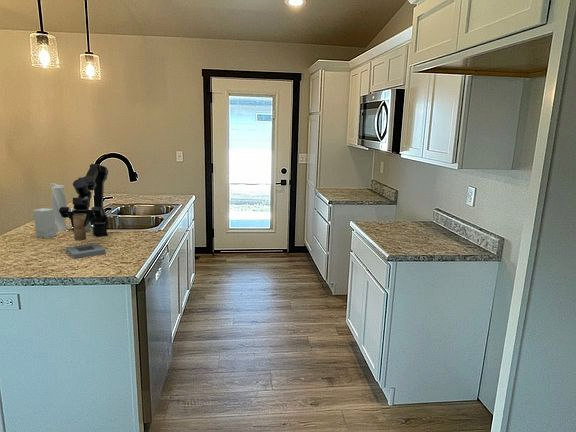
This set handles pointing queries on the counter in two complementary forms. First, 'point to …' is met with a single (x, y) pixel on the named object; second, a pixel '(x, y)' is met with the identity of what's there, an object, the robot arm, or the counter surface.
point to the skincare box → (45, 223)
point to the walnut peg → (79, 227)
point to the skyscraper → (58, 206)
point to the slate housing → (85, 250)
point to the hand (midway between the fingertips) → (78, 226)
